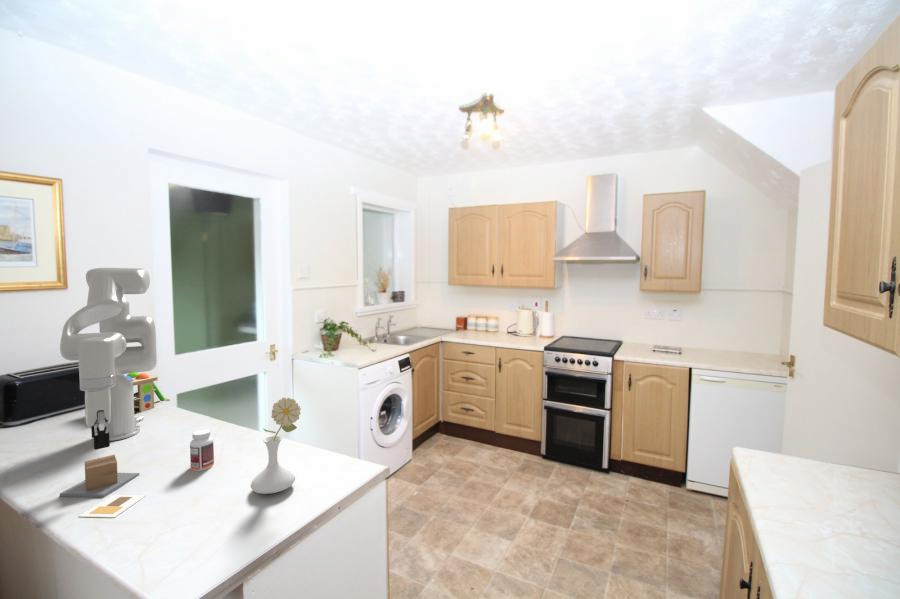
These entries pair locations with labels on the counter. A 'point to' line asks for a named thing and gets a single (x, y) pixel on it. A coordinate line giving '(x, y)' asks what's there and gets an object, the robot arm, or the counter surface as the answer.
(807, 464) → the counter surface
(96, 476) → the walnut block
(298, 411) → the flower in vase
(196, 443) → the pill bottle
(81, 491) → the slate plate
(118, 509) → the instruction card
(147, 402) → the pounding bench toy
